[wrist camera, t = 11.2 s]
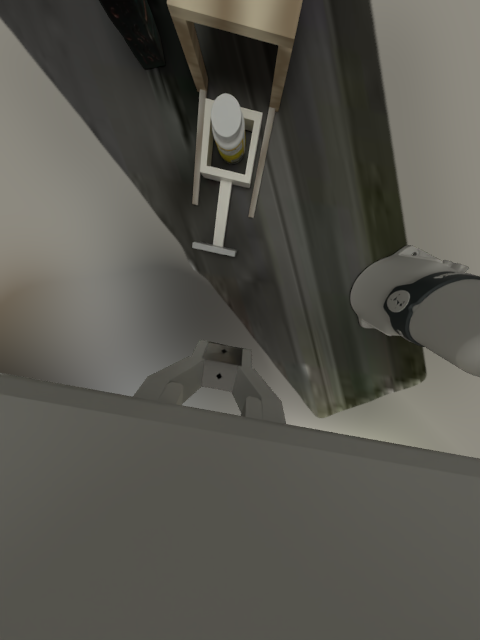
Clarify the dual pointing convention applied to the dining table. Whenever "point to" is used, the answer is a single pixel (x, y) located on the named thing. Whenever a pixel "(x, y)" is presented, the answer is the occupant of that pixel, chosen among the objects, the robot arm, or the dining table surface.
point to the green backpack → (137, 29)
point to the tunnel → (247, 20)
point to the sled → (226, 175)
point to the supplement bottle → (228, 128)
